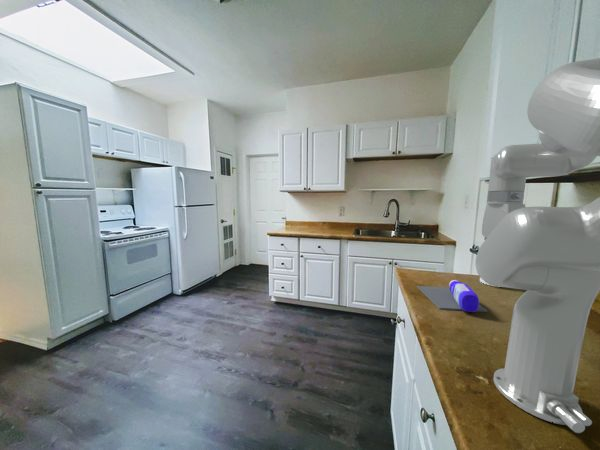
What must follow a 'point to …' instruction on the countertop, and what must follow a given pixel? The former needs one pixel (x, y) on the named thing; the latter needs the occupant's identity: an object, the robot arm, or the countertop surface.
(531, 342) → the robot arm
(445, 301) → the mat
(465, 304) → the bottle
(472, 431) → the countertop surface
